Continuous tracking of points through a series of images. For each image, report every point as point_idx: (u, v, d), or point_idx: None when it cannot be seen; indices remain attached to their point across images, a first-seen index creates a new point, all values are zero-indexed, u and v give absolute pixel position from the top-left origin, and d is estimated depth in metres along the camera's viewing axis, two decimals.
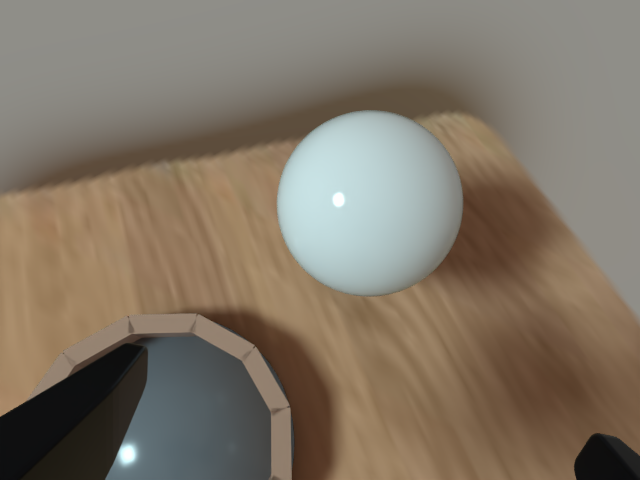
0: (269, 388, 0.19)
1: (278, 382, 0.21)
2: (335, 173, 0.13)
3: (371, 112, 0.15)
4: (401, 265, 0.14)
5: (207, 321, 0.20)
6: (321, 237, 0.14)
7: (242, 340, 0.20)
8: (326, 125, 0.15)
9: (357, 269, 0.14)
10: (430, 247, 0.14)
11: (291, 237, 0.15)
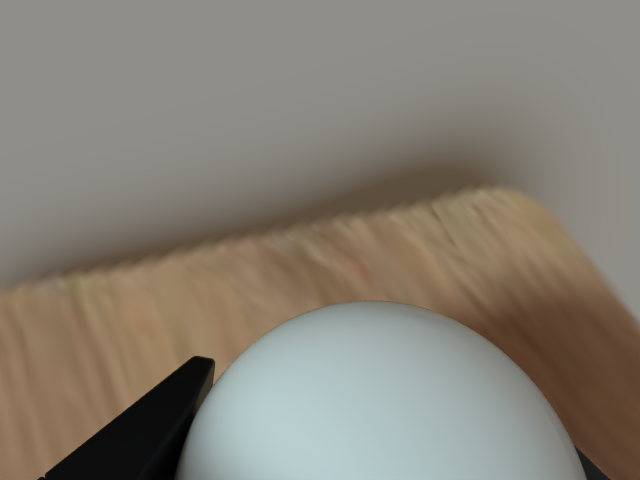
0: None
1: None
2: None
3: (382, 342, 0.06)
4: None
5: None
6: None
7: None
8: (273, 375, 0.06)
9: None
10: None
11: None
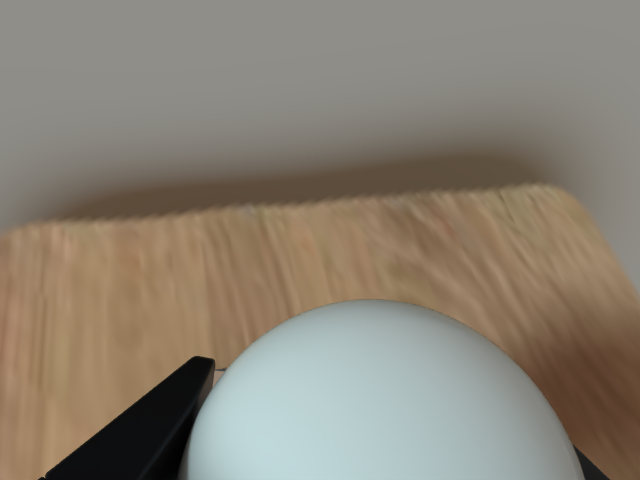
0: None
1: None
2: None
3: (377, 340, 0.06)
4: None
5: None
6: None
7: None
8: (271, 372, 0.06)
9: None
10: None
11: None
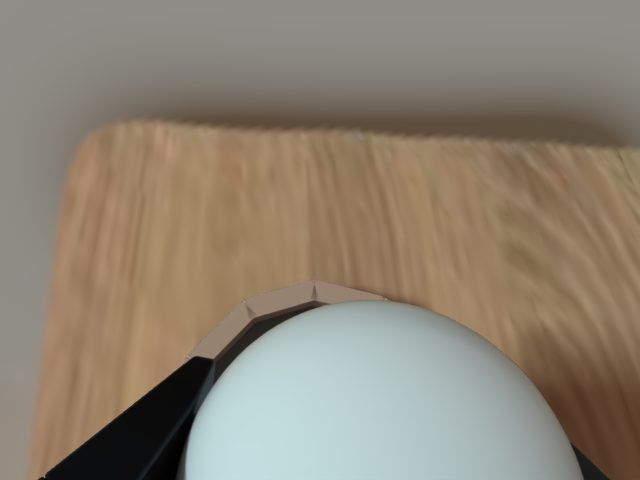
0: None
1: None
2: None
3: (375, 342, 0.06)
4: None
5: None
6: None
7: None
8: (269, 373, 0.06)
9: None
10: None
11: None
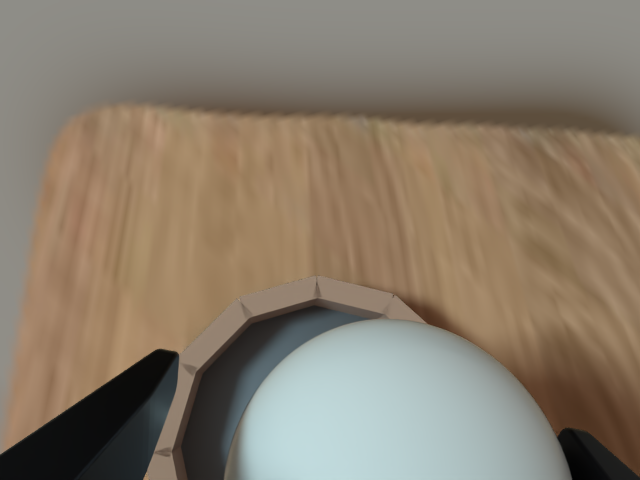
0: None
1: None
2: None
3: (404, 358, 0.07)
4: None
5: (404, 306, 0.16)
6: None
7: None
8: (315, 384, 0.07)
9: None
10: None
11: None
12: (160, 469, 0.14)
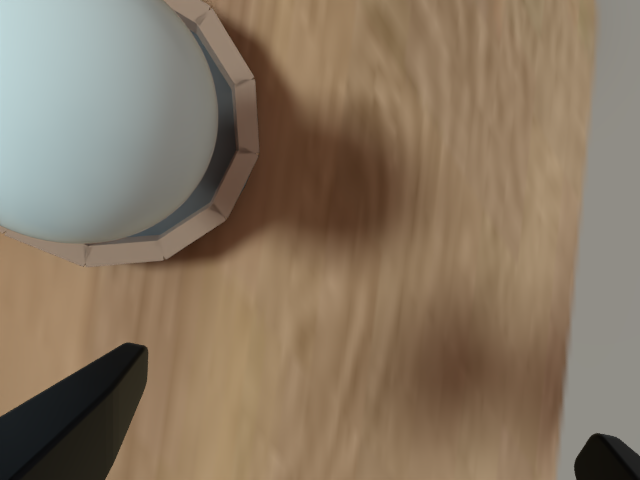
0: (248, 126, 0.18)
1: None
2: None
3: None
4: (65, 232, 0.10)
5: (218, 22, 0.17)
6: None
7: (244, 64, 0.18)
8: None
9: None
10: (112, 219, 0.10)
11: None
12: None
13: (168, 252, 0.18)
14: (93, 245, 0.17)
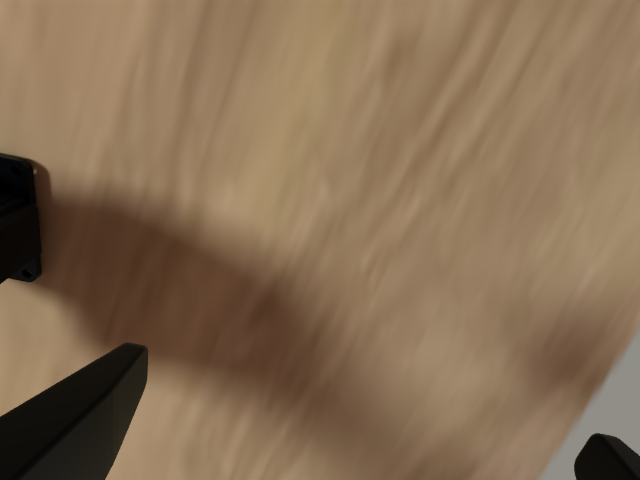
0: None
1: None
2: None
3: None
4: None
5: None
6: None
7: None
8: None
9: None
10: None
11: None
12: None
13: None
14: None
